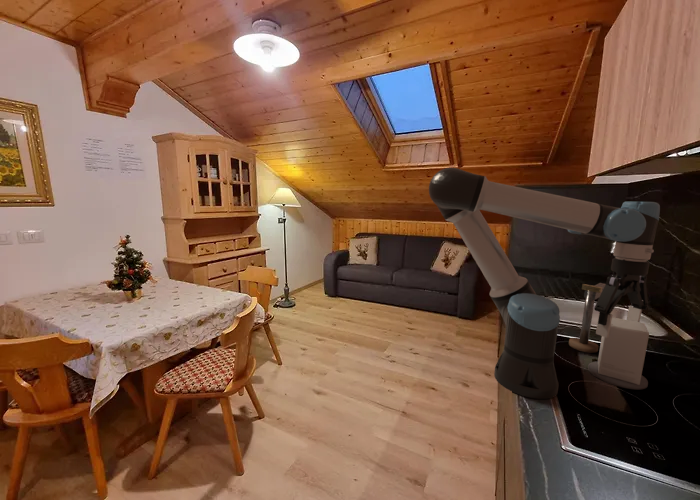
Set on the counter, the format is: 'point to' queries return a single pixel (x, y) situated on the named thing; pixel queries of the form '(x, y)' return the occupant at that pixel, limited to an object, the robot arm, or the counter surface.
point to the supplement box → (623, 350)
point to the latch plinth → (583, 345)
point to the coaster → (617, 382)
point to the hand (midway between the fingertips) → (616, 332)
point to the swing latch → (589, 309)
